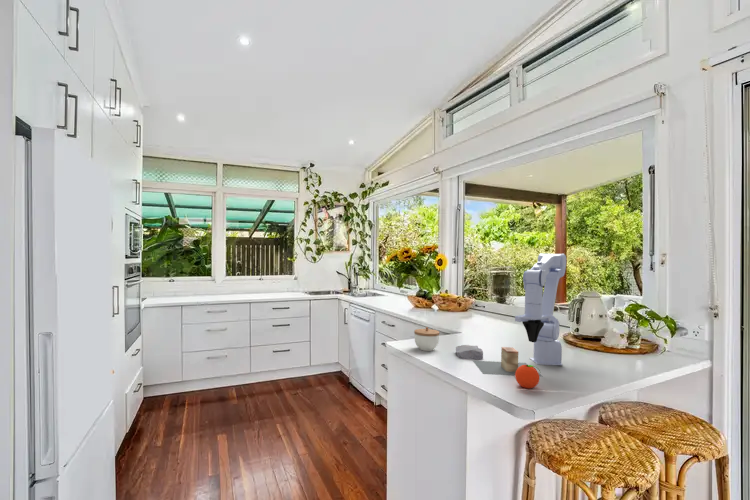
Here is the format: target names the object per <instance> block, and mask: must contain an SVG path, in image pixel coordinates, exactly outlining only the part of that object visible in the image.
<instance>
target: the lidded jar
mask: <svg viewBox="0 0 750 500" xmlns="http://www.w3.org/2000/svg"><path fill="white" fill-rule="evenodd" d="M413 333H414V343H415V345H416V346H417V348H418V350H420V351H424V352H433V351H434V350H435V349H436V348H437V346H438V344H439V341H440V331H438V330H436V329H431V328H429V327H428V326H425V328H417V329H414V331H413Z"/></svg>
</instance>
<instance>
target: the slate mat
mask: <svg viewBox="0 0 750 500" xmlns="http://www.w3.org/2000/svg"><path fill="white" fill-rule="evenodd" d="M472 362H473V363H474V364H475V366H476V367H477V368H478V369H479V371H480V372H481V373H482V374H483V375H497V376H499V375H500V376H515V373H516V372H510V371H505V370H504V369H503V368H502V367H501V361H495V360H493V361H492V360H491V361H490V360H488V361H487V360H472ZM522 365H529V364H528V363H526V362H518V368H519V367H520V366H522ZM538 374H539V378H540V377H541V378H542V377H544V376H543V375H542V374H541V373H540V372H538Z"/></svg>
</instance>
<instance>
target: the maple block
mask: <svg viewBox="0 0 750 500" xmlns="http://www.w3.org/2000/svg"><path fill="white" fill-rule="evenodd" d="M500 356H501V359H500V362H501V367H502V368H503V369H504V370H505V371H510V372H516V370H517V369H518V363H519V350H517V349H516V348H514V347H510V346H508V347H507V346H501V355H500Z"/></svg>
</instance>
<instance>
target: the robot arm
mask: <svg viewBox="0 0 750 500" xmlns="http://www.w3.org/2000/svg"><path fill="white" fill-rule="evenodd" d="M566 268H567V255H566V254H565V253H541V252H540V253H539V254H538V256H537V262H535V263H534V264H533V266H532V267H531V268H530V269H527V270H525V271H524V272H523V276H522V282H523V289H524V313H523V314H519V315H515V316H514V322H518V323H522V325H523V326H524V327H523V328H524V329H525V331H526V332H525V333H526V334H527V338H528V342H531V343H533V357H529V360H531V361H532V362H534V363H535V364H536V365H544V366H545V365H550V366H563V363H562V356H563V355H562V354H563V353H562V352H563V350H562V347H563V346H562V343H561V341H560V340H558V339H559V336H560V322H559V319H558V318H556V316H554V312H555V311H554V310H555V304H556V298H557V290H558V285H559V282H560V279H561V278H563V277H564V276H565V274H566ZM543 287H544V288H543Z"/></svg>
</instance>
